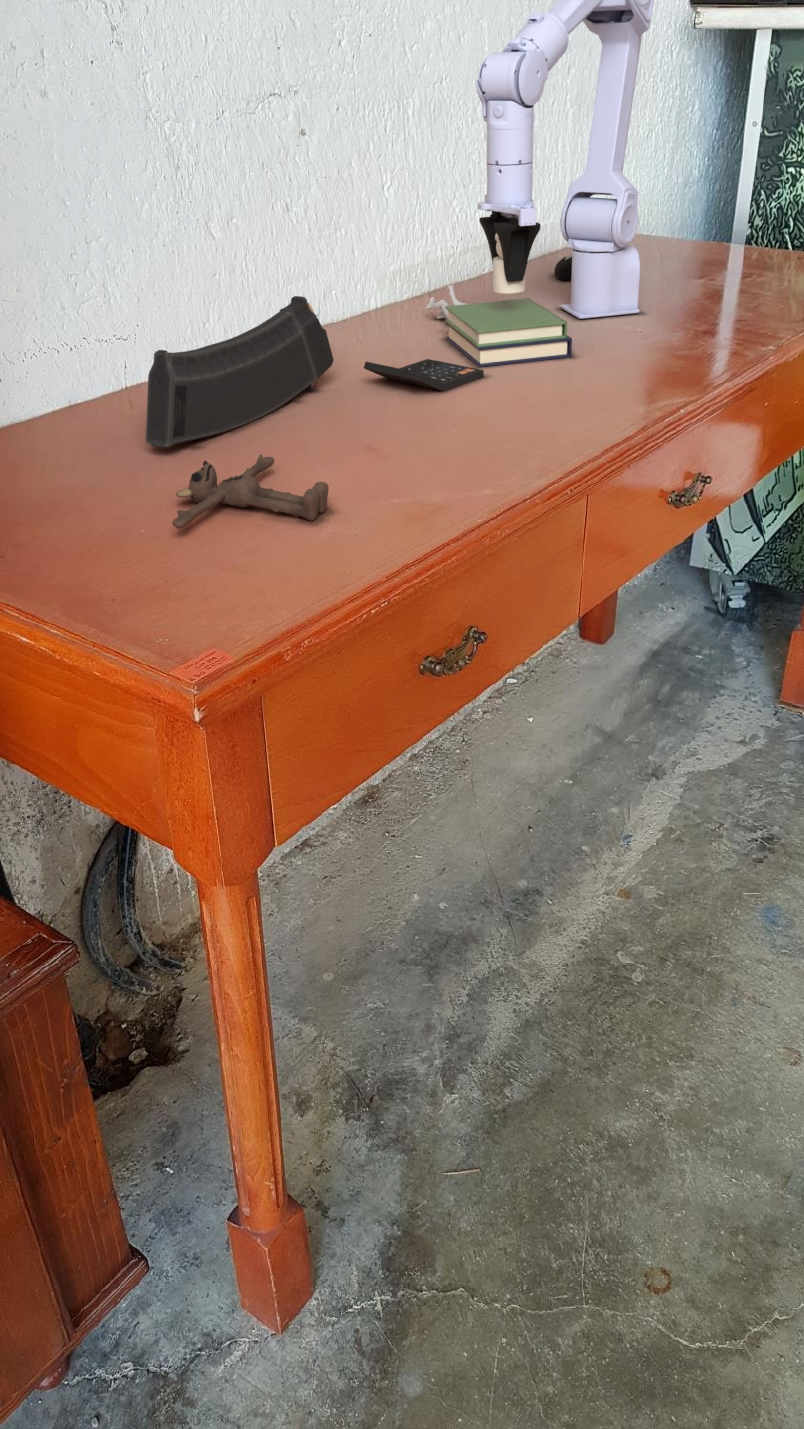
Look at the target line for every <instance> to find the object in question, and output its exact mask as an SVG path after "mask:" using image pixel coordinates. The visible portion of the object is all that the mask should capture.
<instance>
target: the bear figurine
mask: <svg viewBox="0 0 804 1429" xmlns="http://www.w3.org/2000/svg"><path fill="white" fill-rule="evenodd" d="M274 464H275V458H274V456H273V457H272V456H265V457H264V456H263V454H259V455H258V457H257V460H256V462H255V463H254V464H253V465H252V466H251V467H250V468H247V469H246V470H245V471H244V472H243V473H241V474H240V475H234V476H230V477H228V478H226V479H223V480H222V481H221V482H220V483H219V484H218V475H217V471H216V468H215V466H213V464H211V463H210V462H208V461H207V460H203V464H202V466H203V467H200V469H199V470H196V471H195V472H193V473H192V474H191V476H190V479H189V482H188V487H186V488H183V489H180V490H178V491H177V492H176V493H175V496H176V497H177V498H190V499H191V500H192V501H193V502H194V503H196V505H194V506H192V507H191V508H189V509H188V510H181V509H178V510H176V513H177V515H178V516H177V517H175V518H174V519H173V520H172V522H171V524H172V526H173V527H174V528H176V529H183V528H186V527H187V526H188V525H189V524H191V522H193V521H194V520H195V519H196V518H198V517H199V516H201V515H202V514H204V513H205V512H207V511H209V510H210V509H212V508H214V507H215V506H216V505H217V506H218V504H220V505H230V506H235V507H239V508H241V509H242V508H243V509H246V508H251V507H252V506H253V507H257V508H262V509H266V510H270V511H273V512H275V513H278V512H279V513H284V514H288V515H291V516H292V517H295V518H299V517H302V518H304V519H306V520H307V521H311V522H313V521H315V520H316V519H317V518H318V514H324V512H325V511H326V510H327V506H328V497H329V484H328V483H327V482H325V481H317V482H315V483H314V485H313V486H312V487H311V488H308V489H306V490H305V492H304V494H303V495H299V494H293V493H291V492H289V491H287V492H284V491H279V490H274V489H273V488H265V487H263V486H260V484H259V482H258V481H257V480H256V478H255V477H256V476H258V475H259V474H261V473H263V472H264V471H266V470H268V469H269V468H270V467H272V466H273V465H274Z"/></svg>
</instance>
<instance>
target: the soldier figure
mask: <svg viewBox="0 0 804 1429" xmlns="http://www.w3.org/2000/svg"><path fill="white" fill-rule="evenodd" d="M448 284H449V283H448ZM447 287H448V290H449V293H448V294H449V298H450V302H451V303H452V306H454V305H464V304H467V303H465V302H462V301H460V300H458V299H457V297H456V295H455V291H454V290H455V288H454V284H452V283H450V284H449V285H447ZM435 301H436V298H435V297H434V296H431V297H430V298H429V301H428V304H427V305H426V307H425V309H426V311H429V310H431V309H433V310H434V309H435V310H438V309H439V310H440V313H438V314H437V315H436V319H437V320H441V319H448V310H447V309H445V306H451V304H450V303H449V302H448V301H447V300H445V299H441V300H439V301H436V302H435Z"/></svg>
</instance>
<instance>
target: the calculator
mask: <svg viewBox="0 0 804 1429" xmlns="http://www.w3.org/2000/svg"><path fill="white" fill-rule="evenodd" d="M363 369H364V370H366V371H369V372H371V373H374V374H375V375H378V376H379V377H383V378H385V379H388V380H391V381H396V382H400V383H404V384H405V383H406V384H410V385H414V386H419V387H423V388H429V389H432V390H437V391H441V392H446V391H449V390H452V389H455V388H457V387H460V386H462V385H465V384H469V383H471V382H475V381H477V380H480V379H482V378H484V376H485V375H484V374H485V373H484V372H485V370H484V369H480V368H475V367H472V366H471V367H470V366H464V365H460V364H456V363H451V362H445V361H440V360H435V359H430V358H426V359H422V360H419V361H416V362H414V363H411V364H407V365H405V366H402V367H394V366H390V365H384V364H380V363H375V362H370V361H364V365H363Z"/></svg>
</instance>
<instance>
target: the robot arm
mask: <svg viewBox="0 0 804 1429" xmlns="http://www.w3.org/2000/svg"><path fill="white" fill-rule="evenodd" d="M654 3H655V0H556V1H555V2H554V4H553V5H552V6H551V8H550V9H549V10H548V12H547V11H541V12H532V13H531V14H530V15H529V16H528V17H527V22H526V23H525V25H524V26H523V27H522V28H521V29H520V30H519V31H518V33H517V34H516V35H515V36H513V37H512V38H511V39H510V40H509V42H508V44H506V46H505V47H504V48H503V49H502V51H494V52H492V53H490V54H489V55H488V56H487V57H486V58H484V60H483V61H482V62H481V64H480V67H479V71H478V75H477V76H478V77H477V79H476V81H475V83H476V85H475V86H476V91H477V92H476V93H477V95H478V99H479V100H480V103H481V111H482V113H481V114H482V115H481V116H482V117H483V121H484V122H486V194H484V201H480V202H478V203H477V209H478V210H481V211H485V212H491V214H490V215H489V216H483V217H482V216H481V217H479V220H478V221H479V224H480V225H481V228H482V230H483V232H484V235H485V237H486V240H487V245H488V247H489V253H490V257H491V262H492V264H493V258H495V257H498V256H499V255H498V253H497V251H496V243H497V241H496V240H495V235H496V233H497V235H498V237H499V240H500V244H501V248H502V254H503V263H504V272H505V277H506V281H507V282H515V281H523V278H524V275H525V276H526V270H527V266H528V261H529V257H530V253H531V251H532V247H533V244H534V242H535V239H536V238H537V236H538V234H539V232H540V231H541V227H542V226H541V223H540V222H537V208H536V207H535V206H534V205H535V203H534V199H533V179H534V178H533V177H534V176H533V175H534V172H533V171H534V124H535V123H534V121H535V120H534V117H535V109H534V108H535V104H537V103H538V102H539V101H540V100H541V97H543V96H542V95H543V93H544V89H545V83H546V81H547V80H548V76H549V74H550V71H551V70H552V69H553V68H554V66H555V65H556V64H557V63H558V61H560V59H561V58H562V57H563V56H564V55H565V53H566V52H567V50H568V47H569V35H570V34H571V33H572V32H573V31H574V30H575V29H576V28H577V27H578V26H579V25H580V24H581V23H584V25H585V27H586V28H587V29H588V31H589V32H591V33H593V34H594V35H596V36H598V38H599V40H600V42H601V52H600V60H599V65H598V74H597V81H596V82H597V83H596V90H595V98H594V105H593V114H592V119H591V120H592V121H591V128H590V135H589V142H588V151H587V159H586V165H585V171H584V172H583V173H582V174H581V175H580V176H579V177H578V178H576V179H574V181H573V182H572V183H571V184H569V186H568V190H567V196H566V198H565V202H564V204H563V207H562V210H561V212H560V220H559V227H560V232H561V235H562V237H563V239H564V240H565V241H566V242H567V248H568V249H572V252H571V254H572V277H571V280H570V284H571V285H570V303H565V304H561V305H560V308H561V309H562V310H564V311H565V312H567V313H568V314H570V315H572V316H573V317H575V318H577V319H580V320H583V319H592V318H601V317H603V318H604V317H612V316H613V317H614V316H621V315H631V314H639V313H640V311H641V310H640V308H639V296H640V282H641V281H640V278H641V260H640V254H639V252H638V249H637V247H635V246H634V245H629V244H630V243H631V242H632V240H633V239H634V237H635V236H636V233H637V229H638V225H639V212H638V200H639V191H638V189H637V188H636V187H635V186H634V184H632V182H631V181H630V180H629V179H628V178H627V177H626V176H625V175H624V174H623V172H624V165H625V160H626V159H625V157H626V150H627V145H628V144H627V143H628V137H629V129H630V122H631V115H632V109H633V101H634V95H635V88H636V81H637V74H638V68H639V61H640V53H641V46H642V39H643V34H645V33H646V32H647V31H648V30H650V28H651V22H652V16H653V11H654ZM595 195H599V196H601V195H602V196H614V198H609V197H593V196H595Z"/></svg>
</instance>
